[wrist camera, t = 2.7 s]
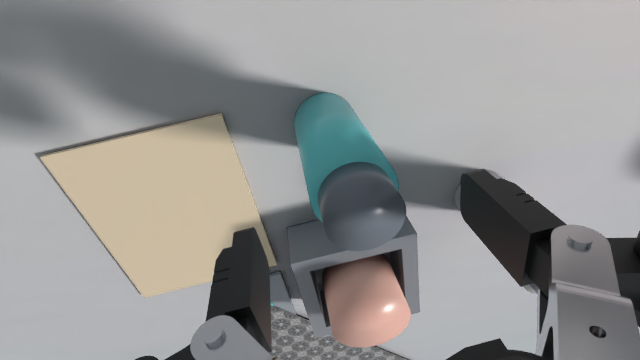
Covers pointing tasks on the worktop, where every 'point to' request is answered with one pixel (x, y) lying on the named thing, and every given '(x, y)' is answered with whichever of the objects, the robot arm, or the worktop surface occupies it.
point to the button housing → (319, 252)
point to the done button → (365, 302)
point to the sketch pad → (162, 200)
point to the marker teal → (347, 175)
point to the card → (280, 293)
